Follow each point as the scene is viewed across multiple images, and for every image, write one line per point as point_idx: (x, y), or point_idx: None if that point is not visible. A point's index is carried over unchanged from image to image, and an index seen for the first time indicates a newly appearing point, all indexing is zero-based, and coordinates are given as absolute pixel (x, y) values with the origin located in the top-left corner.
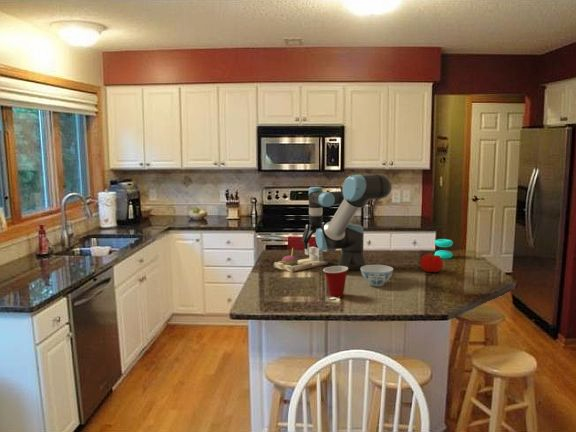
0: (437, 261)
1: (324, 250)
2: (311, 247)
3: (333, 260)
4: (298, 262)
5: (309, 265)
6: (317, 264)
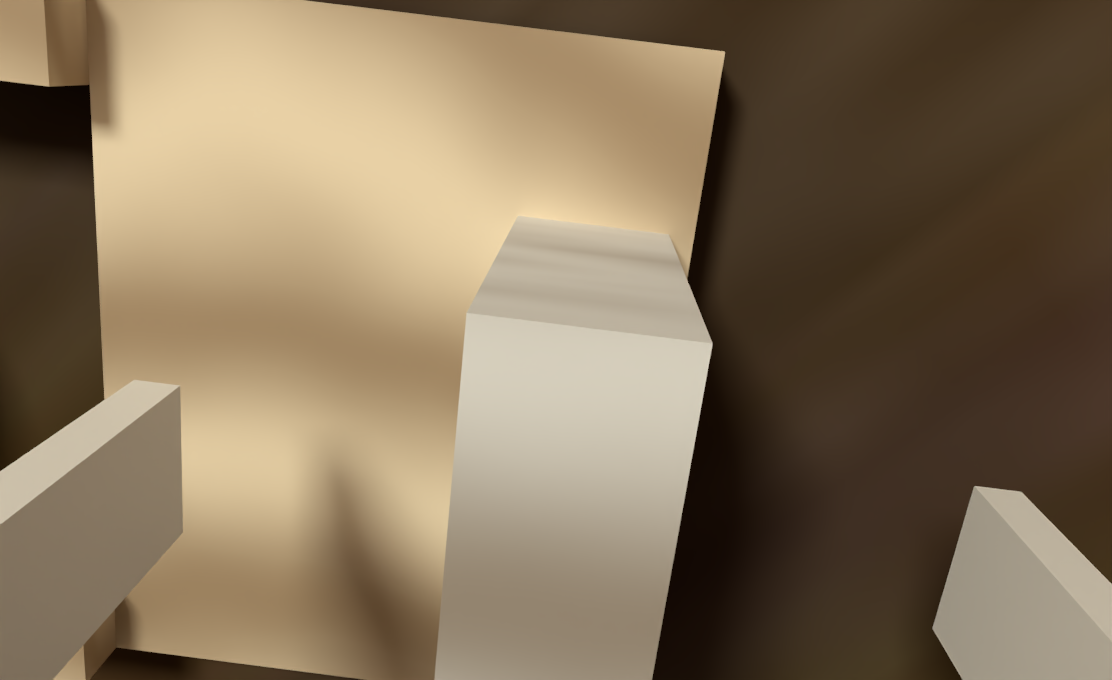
0: None
1: (962, 576)
2: (516, 408)
3: None
4: (101, 188)
5: None
6: (287, 664)
